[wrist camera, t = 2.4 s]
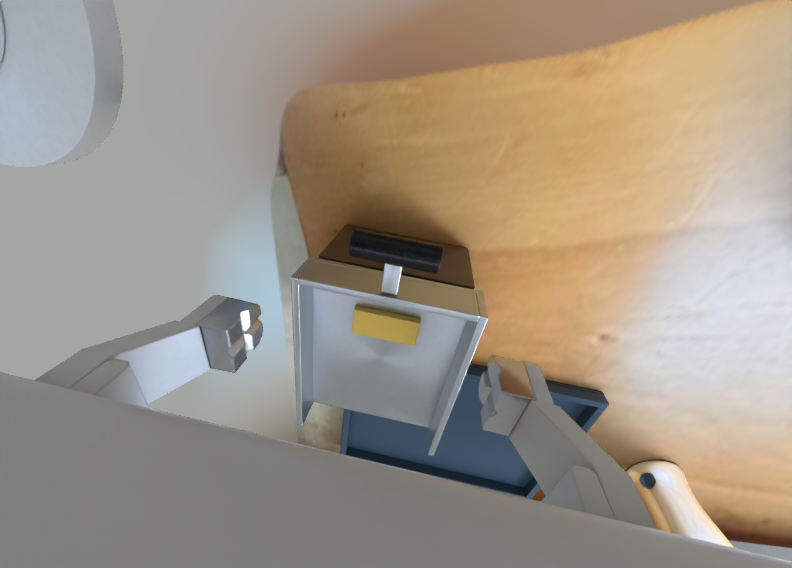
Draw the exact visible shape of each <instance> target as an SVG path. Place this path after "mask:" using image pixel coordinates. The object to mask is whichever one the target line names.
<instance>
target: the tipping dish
mask: <svg viewBox="0 0 792 568" xmlns="http://www.w3.org/2000/svg"><path fill="white" fill-rule="evenodd" d="M349 255H350V256H351V257H354V258H359V259H364V260H369V261H374V262H379V263H384V264H385V265H384V271H379V270H374V269H369V268H364V267H359V266H355V265H350V264H345V263H340V262H335V261H330V260H325V259H320V258H315V257H309V258H308V259H307V260H306V261H305V262H304V264H303V265H302V266H301V267H300V268H299V269H298V270H297V271H296V272H295V273H294V274H293V275H292V277H291V293H292V316H293V339H294V363H295V386H296V409H297V425H300V426H303V424H304V421H305V419H306V417H307V415H308V412H309V410H310V408H311V406H312V404H313V402H317V403H322V404H326V405H330V406H335V407H339V408H344V409H348V410H353V411H357V412H361V413H366V414H370V415H375V416H379V417H384V418H388V419H392V420H397V421H401V422H406V423H410V424H415V425H419V426H424V427H428V428H429V440H428V455H431V456H434V453H435V451H436V448H437V445H438V443H439V440H440V438H441V435H442V433H443V430H444V428H445V425H446V423H447V420H448V418H449V415H450V413H451V410H452V408H453V405H454V403H455V400H456V398H457V395H458V393H459V390H460V387H461V385H462V382H463V380H464V377H465V375H466V372H467V370H468V367H469V365H470V362H471V360H472V357H473V355H474V352H475V350H476V347H477V345H478V342H479V340H480V337H481V335H482V332H483V330H484V327H485V324H486V322H487V319H488V316H487V311H486V306H485V301H484V296H483V292H482V291H478V290H473V289H468V288H463V287H458V286H453V285H448V284H443V283H438V282H433V281H428V280H424V279H419V278H414V277H409V276H404V275H401V273H402V268H403V267H404V268H409V269H414V270H419V271H423V272H428V273H433V274H437V273H438V271H439V268H440V264H441V260H442V255H443V246H442V245H437V244H431V243H426V242H421V241H416V240H411V239H406V238H401V237H396V236H391V235H386V234H381V233H376V232H371V231H366V230H360V229H354V230H353V232H352V235H351V238H350V243H349ZM356 305H358V306H362V307H367V308H372V309H377V310H382V311H386V312H391V313H396V314H401V315H405V316H410V317H415V318H420V319H421V324H420V328H419V332H418V336H417V340H416V344H415V346H411V345H406V344H401V343H397V342H392V341H387V340H383V339H378V338H373V337H369V336H364V335H359V334H355V333H352V321H353V311H354V308H355V306H356Z"/></svg>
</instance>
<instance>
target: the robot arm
mask: <svg viewBox="0 0 792 568" xmlns="http://www.w3.org/2000/svg"><path fill="white" fill-rule="evenodd" d="M4 46H5V36H4V26H3V19H2V14H1V10H0V64H1V62H2V59H3V54H4ZM260 315H261V309H260V306H259V305H258V304H254V303H250V302H246V301H242V300H238V299H234V298H229V297H224V296H220V295H214V296H212V297H210V298H209V299H208V300H207V301H205V302H204V303H203V304H201V305H200V306H199V307H198V308H196V309H195V310H194V311H192V312H191V313H190V314H189V315H187V316H186V317H185V318H183V319H182V320H181V321H180V322H179V321H172V322H169V323H166V324H163V325H160V326H156V327H153V328H150V329H146V330H143V331H140V332H137V333H134V334H131V335H127V336H124V337H121V338H117V339H114V340H111V341H108V342H104V343H101V344H98V345H95V346H91V347H88V348H85V349H82V350H80V351H79V352H77V353H76V354H74V355H73V356H71V357H70V358H68V359H67V360H65V361H63V362H62V363H60V364H59V365H57V366H56V367H54V368H53V369H51V370H50V371H48V372H47V373H45V374H43V375H42V376H40V377H39V378H37V379H36V380H30V379H26V378H22V377H18V376H13V375H9V374H5V373H1V372H0V568H792V561H787V560H783V559H779V558H775V557H770V556H766V555H762V554H758V553H754V552H749V551H745V550H741V549H736V548H733V547H729V546H724V545H720V544H716V543H712V542H707V541H703V540H699V539H695V538H691V537H686V536H682V535H678V534H674V533H670V532H666V531H661V530H657V528H656V526H655V524H654V522H653V520H652V518H651V516H650V514H649V512H648V510H647V508H646V506H645V504H644V502H643V500H642V498H641V496H640V494H639V492H638V490H637V488H636V486H635V484H634V482H633V480H632V478H631V476H630V475H629V474H628V473H627V472H625V471H624V470H623V469H622V468H621V467H620V466H619V465H618V464H617V463H616V462H615V461H614V460H613V459H612V458H611V457H610V456H609V455H608V454H607V453H606V452H605V451H604V450H603V449H602V448H601V447H600V446H599V445H598V444H597V443H596V442H595V441H594V440H593V439H592V438H591V437H590V436H589V435H588V434H587V433H586V432H585V431H584V430H583V429H582V428H581V427H580V426H579V425H578V424H577V423H576V422H575V421H574V420H573V419H572V418H571V417H570V416H569V415H568V414H567V413H566V412H565V411H563V410H562V409H561V408H560V407H559V406H556V405H554V403H553V400H552V398H551V395H550V392H549V390H548V387H547V384H546V382H545V379H544V376H543V374H542V371H541V368H540V366H539V365H538V364H536V363H531V362H525V361H519V360H514V359H509V358H505V357H500V356H495V355H491V356H490V358H489V360H488V362H487V366H488V370H486V371H484V372H483V373H482V376H481V379H480V383H479V400H480V401H481V403H482V404H483V407H482V409H481V411H480V412H481V420H482V428H483V430H485V431H489V432H493V433H497V434H501V435H505V436H509V439H510V441H511V442H512V444H513V445H514V447H515V448H516V450H517V451H518V453H519V454H520V456H521V458H522V459H523V461H524V462H525V464H526V465H527V467H528V468H529V470H530V472H531V473H532V475H533V476H534V478H535V479H536V481H537V482H538V484H539V486H540V487H541V489H542V490H543V492H544V493H545V495H546V497H545V498H544V499H543V500H542V501H541V502H540V501H536V500H532V499H528V498H524V497H519V496H515V495H511V494H507V493H503V492H499V491H494V490H490V489H486V488H482V487H478V486H473V485H469V484H465V483H461V482H457V481H453V480H448V479H444V478H440V477H436V476H432V475H427V474H423V473H419V472H415V471H411V470H406V469H402V468H398V467H394V466H390V465H385V464H381V463H377V462H373V461H368V460H364V459H360V458H356V457H352V456H347V455H343V454H339V453H335V452H331V451H327V450H322V449H318V448H314V447H310V446H306V445H302V444H297V443H293V442H289V441H285V440H281V439H277V438H273V437H268V436H264V435H260V434H255V433H252V432H247V431H243V430H239V429H235V428H230V427H226V426H222V425H218V424H214V423H210V422H205V421H202V420H197V419H193V418H189V417H185V416H181V415H176V414H172V413H168V412H164V411H160V410H155V409H151V408H150V407H149V405H148V404H149V403H150V402H152V401H154V400H156V399H158V398H159V397H161V396H163V395H165V394H167V393H168V392H170V391H172V390H173V389H176V388H177V387H179V386H181V385H183V384H185V383H187V382H188V381H190V380H192V379H194V378H196V377H197V376H199V375H201V374H203V373H205V372H206V371H208V370H210V368H213V369H218V370H223V371H228V372H233V373H235V372H236V371H237V370H238V369H239V367H240V366H241V365H242V364H243V362H244V361H245V360H246V359H247V357H246V353H247V352H249V351H252V350H254V349H255V347H256V346H257V345H258V344H259V342H260V339H261V337H262V332H263V326H262V323H261V322H260V321H259V319H258V317H259V316H260Z"/></svg>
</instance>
